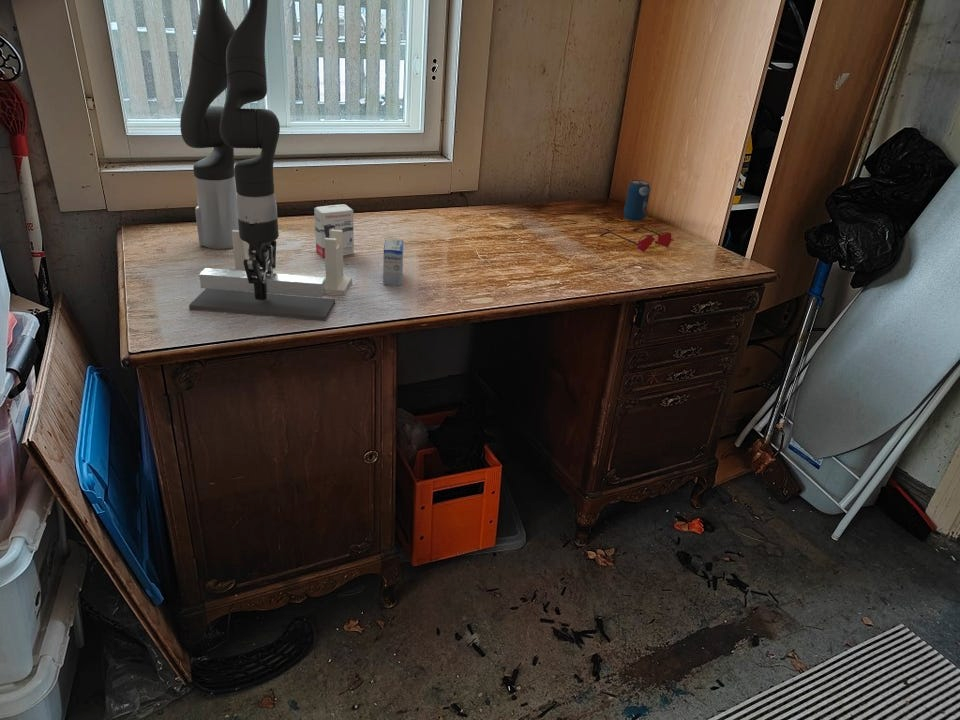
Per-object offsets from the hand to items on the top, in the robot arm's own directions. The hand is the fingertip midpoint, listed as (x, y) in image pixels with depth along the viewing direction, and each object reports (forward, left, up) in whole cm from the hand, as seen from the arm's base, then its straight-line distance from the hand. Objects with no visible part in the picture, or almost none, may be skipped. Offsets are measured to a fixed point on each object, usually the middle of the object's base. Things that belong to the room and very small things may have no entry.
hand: (264, 295), depth 144 cm
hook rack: (+2, +13, -3) cm, 13 cm away
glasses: (+89, +66, -3) cm, 111 cm away
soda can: (+92, +89, -3) cm, 128 cm away
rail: (0, 0, +1) cm, 1 cm away
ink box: (+7, +35, -3) cm, 36 cm away
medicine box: (+24, +21, -3) cm, 32 cm away
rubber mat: (0, 0, -3) cm, 3 cm away
